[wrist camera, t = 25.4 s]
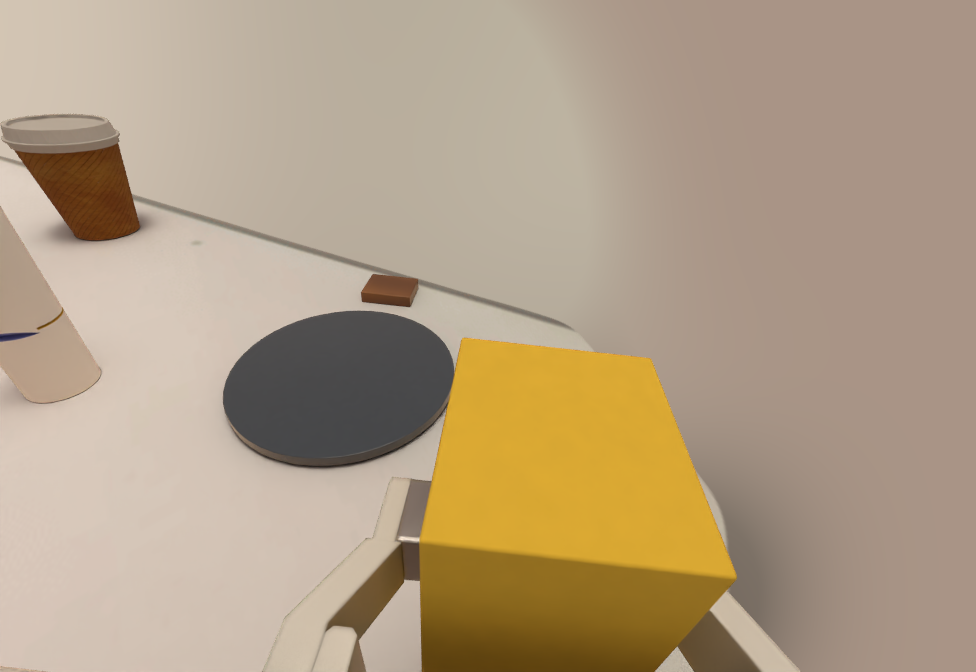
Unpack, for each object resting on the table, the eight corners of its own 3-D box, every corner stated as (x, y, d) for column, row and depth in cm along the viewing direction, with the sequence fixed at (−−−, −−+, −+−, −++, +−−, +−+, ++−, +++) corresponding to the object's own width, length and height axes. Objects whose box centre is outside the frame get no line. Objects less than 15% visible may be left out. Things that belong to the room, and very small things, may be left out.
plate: (436, 313, 42) (436, 304, 42) (474, 446, 29) (475, 436, 29) (249, 326, 38) (246, 317, 38) (197, 489, 25) (192, 479, 25)
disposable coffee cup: (154, 211, 57) (115, 112, 50) (157, 238, 51) (113, 129, 44) (60, 221, 52) (3, 113, 45) (51, 252, 46) (-18, 133, 39)
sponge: (592, 743, 11) (739, 579, 6) (422, 723, 11) (417, 541, 6) (574, 553, 15) (651, 357, 10) (449, 538, 15) (461, 336, 10)
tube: (79, 356, 33) (-48, 157, 24) (114, 374, 32) (-7, 171, 23) (10, 389, 30) (-165, 173, 21) (46, 411, 29) (-124, 190, 20)
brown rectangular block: (410, 307, 43) (409, 297, 42) (361, 302, 43) (360, 292, 42) (418, 288, 46) (418, 278, 46) (373, 283, 46) (372, 273, 46)
